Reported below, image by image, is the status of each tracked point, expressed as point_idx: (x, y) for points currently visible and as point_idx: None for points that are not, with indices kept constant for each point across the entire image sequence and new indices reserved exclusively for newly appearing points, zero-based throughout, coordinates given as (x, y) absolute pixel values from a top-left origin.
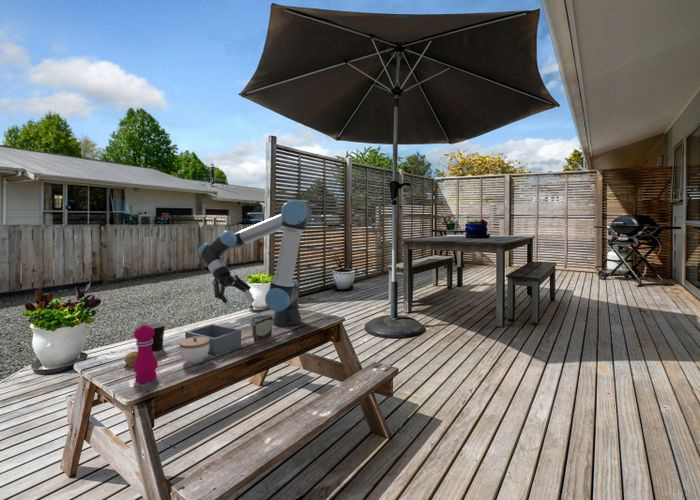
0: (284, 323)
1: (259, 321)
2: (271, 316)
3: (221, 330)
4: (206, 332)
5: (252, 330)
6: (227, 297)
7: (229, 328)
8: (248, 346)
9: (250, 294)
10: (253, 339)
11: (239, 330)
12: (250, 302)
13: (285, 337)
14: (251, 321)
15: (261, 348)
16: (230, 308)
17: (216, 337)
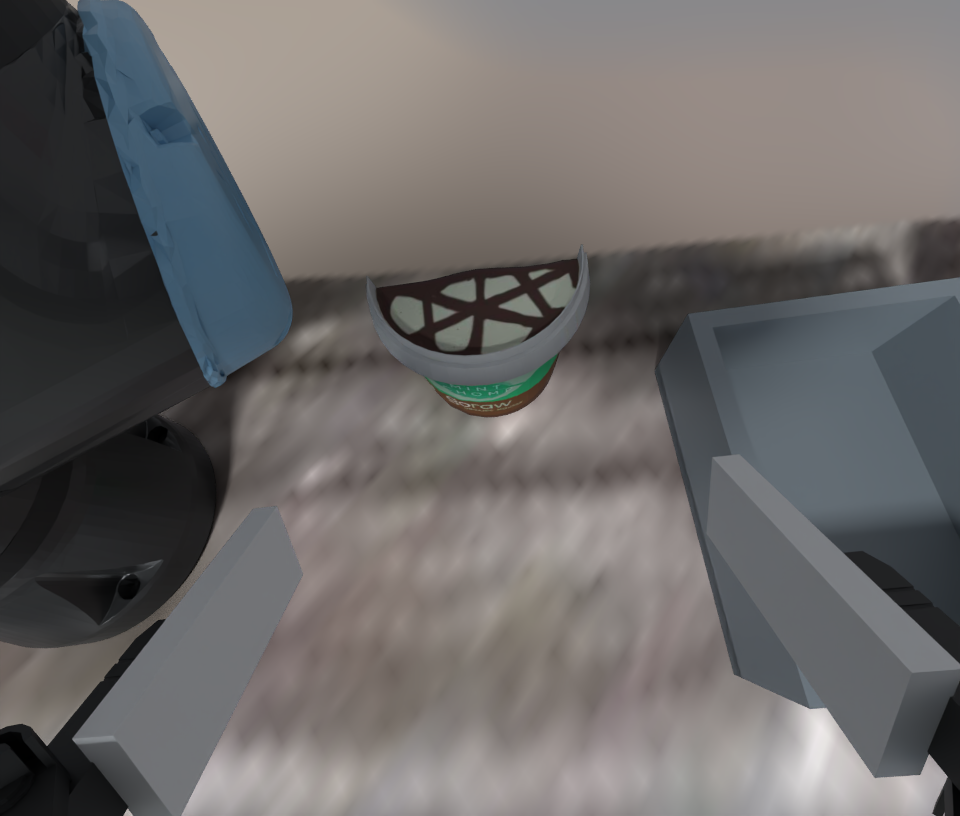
0: (191, 452)
1: (524, 270)
2: (371, 291)
3: None
4: None
5: (551, 360)
6: (837, 583)
7: (741, 416)
8: (627, 335)
9: (189, 602)
10: (547, 381)
11: (702, 314)
12: (292, 582)
13: None
14: (577, 303)
15: (595, 263)
16: (713, 516)
17: (937, 295)
